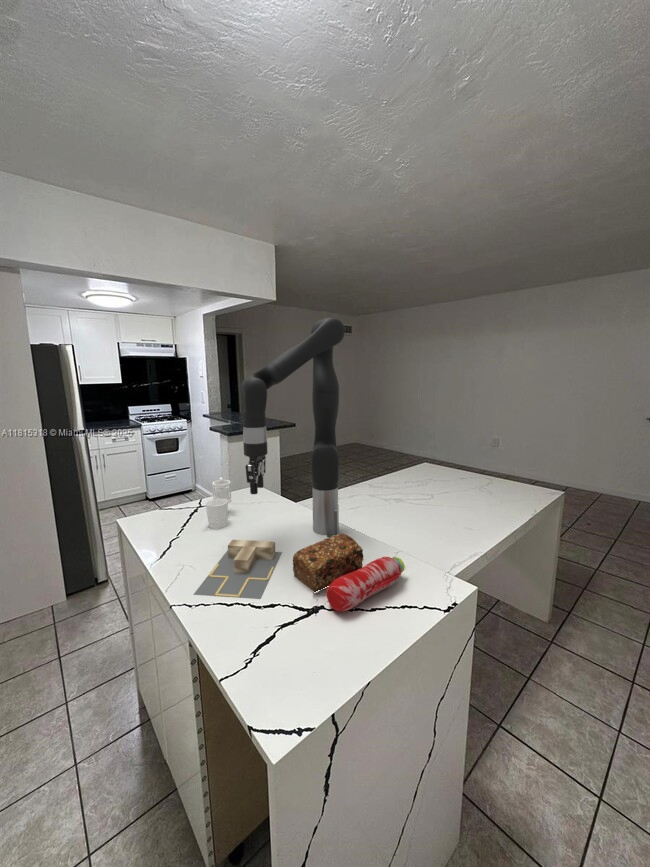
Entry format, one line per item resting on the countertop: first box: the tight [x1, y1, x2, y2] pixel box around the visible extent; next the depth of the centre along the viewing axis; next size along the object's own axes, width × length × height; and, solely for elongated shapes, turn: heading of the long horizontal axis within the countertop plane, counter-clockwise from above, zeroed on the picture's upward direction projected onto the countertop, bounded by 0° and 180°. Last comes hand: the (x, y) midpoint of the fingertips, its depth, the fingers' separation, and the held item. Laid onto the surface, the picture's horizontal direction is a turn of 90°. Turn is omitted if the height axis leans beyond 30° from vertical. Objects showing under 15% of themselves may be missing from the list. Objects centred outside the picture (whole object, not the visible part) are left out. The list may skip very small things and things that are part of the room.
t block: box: [227, 539, 276, 573], centre depth 107 cm, size 14×12×4 cm
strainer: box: [211, 477, 232, 504], centre depth 146 cm, size 7×7×15 cm
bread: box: [292, 533, 365, 593], centre depth 101 cm, size 19×11×10 cm, turn 127°
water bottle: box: [325, 556, 405, 612], centre depth 95 cm, size 12×8×25 cm
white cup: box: [205, 499, 229, 530], centre depth 134 cm, size 8×8×10 cm
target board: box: [192, 549, 283, 600], centre depth 103 cm, size 18×24×1 cm
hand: (257, 490), depth 116 cm, fingers open, 6 cm apart
